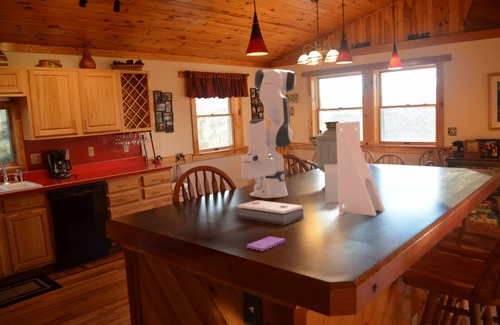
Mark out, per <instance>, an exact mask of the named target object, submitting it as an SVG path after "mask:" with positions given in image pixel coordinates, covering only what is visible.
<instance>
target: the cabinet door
mask: <svg viewBox="0 0 500 325" xmlns="http://www.w3.org/2000/svg"><path fill="white" fill-rule="evenodd" d="M236 207H237V208H246V209H253V210H261V211H268V212H275V213H282V214H284V213H288V212H291V211H295V210H298V209H301V208H302V209H304V205H300V204H293V203H292V204H291V203H285V202H284V203H282V202H276V201H275V202H273V201H266V200H253V201H252V200H251V201H249V202H244V203H240V204H237V205H236Z"/></svg>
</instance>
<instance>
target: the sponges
mask: <svg viewBox="0 0 500 325" xmlns="http://www.w3.org/2000/svg"><path fill="white" fill-rule="evenodd" d="M284 242H286V238H281V237H275V236H270V235H269V236H267V237H264V238H262V239H259V240H257V241H253V242H250V243H248V244H246V248H247V249H248V248H251V249H250V250H252V249H256V250H255V251H257V250H260V251H259V252H261V251H264V250H266V249H268V250H270V249H269V248H271V249H272V247H273V248H275V247H278V246H280V245H282V244H284ZM279 244H280V245H279ZM277 245H278V246H277ZM274 246H275V247H274ZM266 251H267V250H266ZM264 252H265V251H264Z"/></svg>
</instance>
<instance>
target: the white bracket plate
mask: <svg viewBox="0 0 500 325" xmlns="http://www.w3.org/2000/svg"><path fill="white" fill-rule="evenodd" d="M360 123H361V122H360V121H349V122H345V121H344V122H339V123H336V137H337V168H338V200H339V203H338V215H340V214H341V215H343V214H345V213H348V214H349V213H350V214H355V215H366V216H374V217H375V216H377V212H376V211H378V212H382V213H383V212H386V211H385V210H386V209H385V208H384V205H383V202H382V199H381V197H380V194H379V192H378V189H377V187H376V185H375V181H374V179H373V176H372V174H371V172H370V168H369V166H368V163H367V161H366V158H365V155H364V153H363V150H362V148H361V130H360V128H361V126H360ZM340 131H341V132H340Z"/></svg>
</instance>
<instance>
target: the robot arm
mask: <svg viewBox="0 0 500 325" xmlns="http://www.w3.org/2000/svg"><path fill="white" fill-rule="evenodd" d="M253 83H254V86H255V88H256V89H257V90H259V94H258V96H259V97H258V98H259V99H260V103H261V104H263V105H264V116H265V119H267V120H268V121H270V124H271V125H267V122H266V120H265V119H263V118H255V119H254V118H253V119H251V120H250V121H248V124H247V142H248V149H247V150H248V151H247V152H246V153H245V154H244V155H242V156H241V157H240V162H241V164H240V176H241V178H242V180H252V179H253V180H254V181H255V184H254V186H253V192H250V194H249V195H250V196H251V197H255V198H256V197H257V198H262V199H272V198H273V199H274V198H282V197H283V198H284V197H287V196H288V195H289V193H288V190H287V185H286V171H285V162H284V159H285V158H284V157H283V155H282V154H281V153H280V152H278V151H277V150H276V148H287V147H289V145H291V143H292V142H293V139H294V132H293V130H292V128H291V127H292V126H291V117H290V116H291V115H290V106H289V102H288V99H287V97H286V93H289V92H291V91H293V90H294V89H295V88H296V86H297V76H296V73H295V72H294V71H293V70H292V71H291V70H289V69H288V70H285V69H279V68H274V69H264V68H263V69H257V71H255V74H254V76H253Z"/></svg>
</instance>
